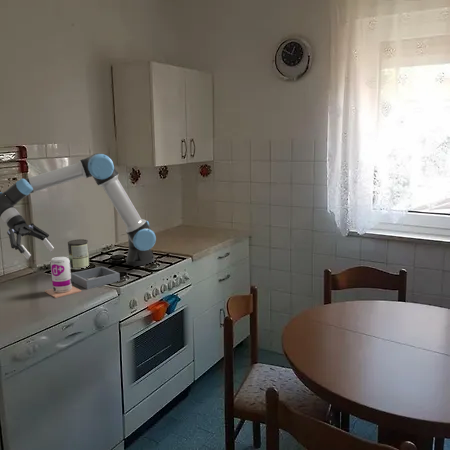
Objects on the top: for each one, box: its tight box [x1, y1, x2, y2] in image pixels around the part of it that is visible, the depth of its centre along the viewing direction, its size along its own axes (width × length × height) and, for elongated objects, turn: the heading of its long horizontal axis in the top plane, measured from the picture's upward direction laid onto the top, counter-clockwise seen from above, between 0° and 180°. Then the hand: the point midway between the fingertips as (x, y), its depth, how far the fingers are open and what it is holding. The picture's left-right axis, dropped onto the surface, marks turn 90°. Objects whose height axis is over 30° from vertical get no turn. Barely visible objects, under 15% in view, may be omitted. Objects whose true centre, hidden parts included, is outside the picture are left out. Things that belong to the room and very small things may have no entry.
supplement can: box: [50, 256, 73, 293], centre depth 214 cm, size 8×8×15 cm
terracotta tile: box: [44, 285, 82, 299], centre depth 215 cm, size 12×12×1 cm
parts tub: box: [71, 265, 121, 290], centre depth 230 cm, size 17×17×4 cm
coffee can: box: [67, 238, 90, 270], centre depth 255 cm, size 10×10×14 cm
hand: (41, 253), depth 217 cm, fingers open, 13 cm apart
